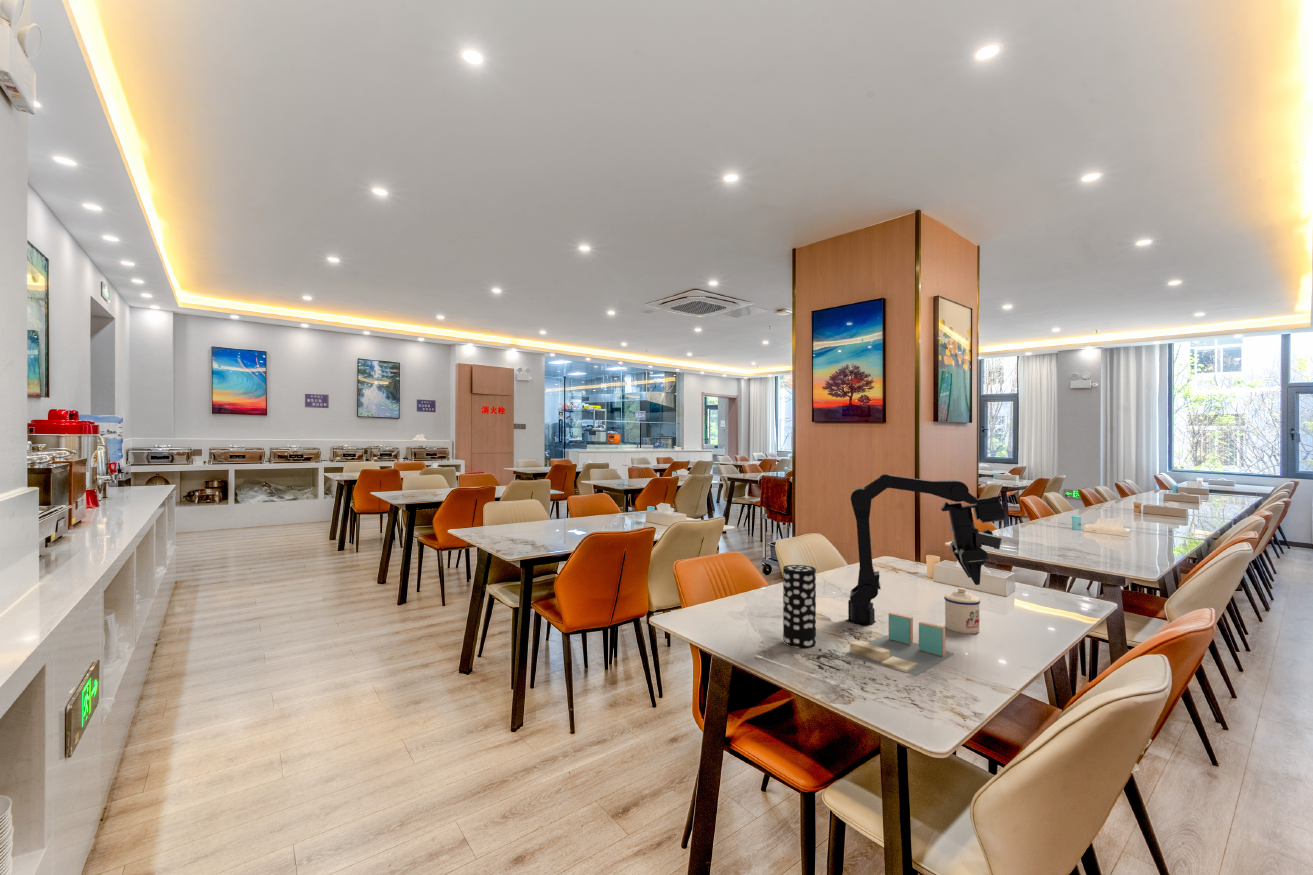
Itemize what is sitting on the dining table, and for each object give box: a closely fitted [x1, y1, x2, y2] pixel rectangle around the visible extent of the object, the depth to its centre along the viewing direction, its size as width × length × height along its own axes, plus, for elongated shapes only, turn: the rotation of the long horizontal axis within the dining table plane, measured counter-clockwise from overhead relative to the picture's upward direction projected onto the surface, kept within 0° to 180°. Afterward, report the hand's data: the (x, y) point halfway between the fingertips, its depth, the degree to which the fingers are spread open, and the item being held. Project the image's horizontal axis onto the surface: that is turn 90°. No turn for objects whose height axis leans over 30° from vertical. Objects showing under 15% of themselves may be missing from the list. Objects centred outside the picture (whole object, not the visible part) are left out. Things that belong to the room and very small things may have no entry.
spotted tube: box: [782, 564, 817, 649], centre depth 150 cm, size 8×8×20 cm
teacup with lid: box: [943, 587, 981, 635], centre depth 163 cm, size 12×9×12 cm
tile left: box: [888, 612, 914, 645], centre depth 150 cm, size 6×2×7 cm, turn 41°
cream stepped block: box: [849, 640, 917, 673], centre depth 137 cm, size 15×6×2 cm, turn 41°
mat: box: [844, 635, 956, 677], centre depth 142 cm, size 18×21×1 cm
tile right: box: [918, 621, 946, 657], centre depth 142 cm, size 6×2×7 cm, turn 41°
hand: (974, 581), depth 157 cm, fingers open, 9 cm apart
